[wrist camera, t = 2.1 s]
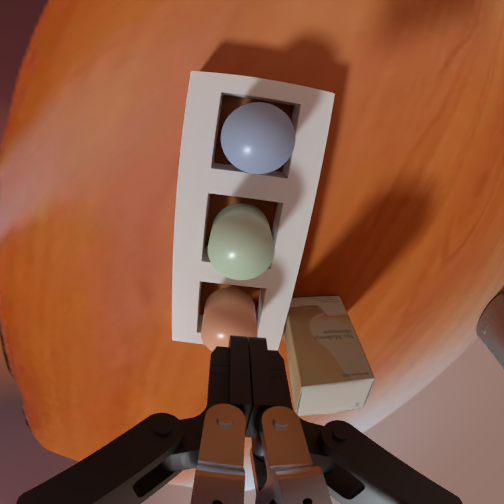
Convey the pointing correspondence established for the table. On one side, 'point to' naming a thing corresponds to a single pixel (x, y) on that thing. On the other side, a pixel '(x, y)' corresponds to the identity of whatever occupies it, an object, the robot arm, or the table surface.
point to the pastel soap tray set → (247, 186)
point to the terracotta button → (227, 317)
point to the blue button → (258, 138)
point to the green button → (241, 242)
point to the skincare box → (325, 357)
